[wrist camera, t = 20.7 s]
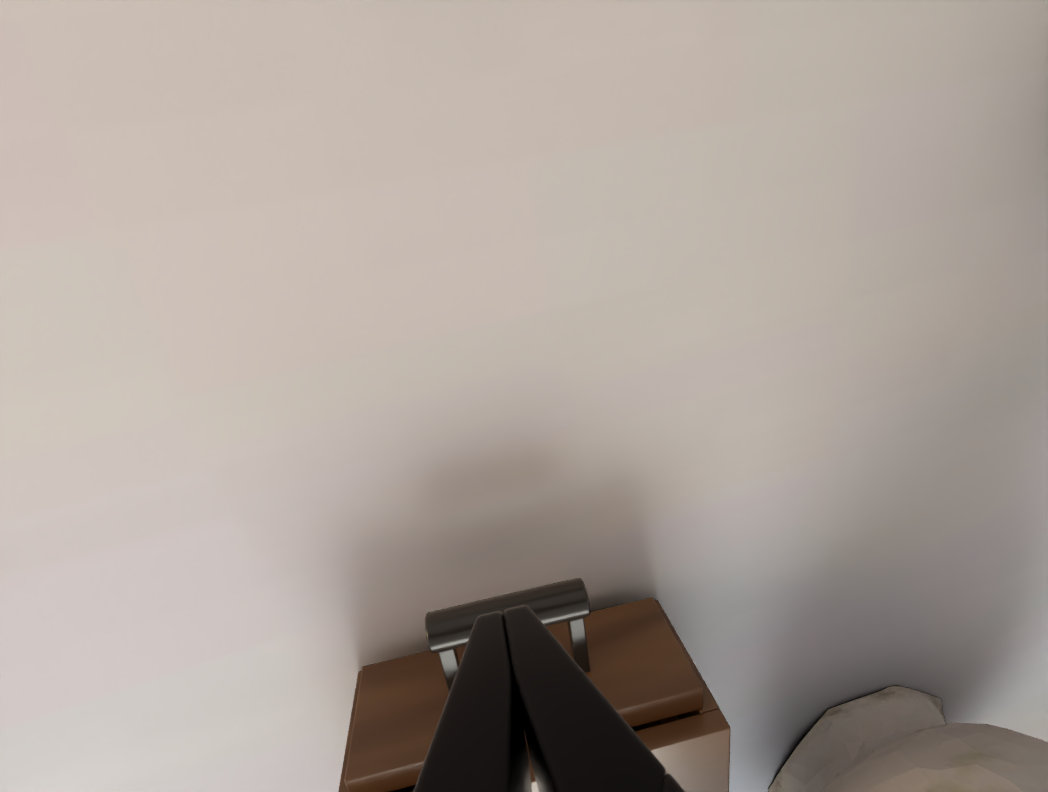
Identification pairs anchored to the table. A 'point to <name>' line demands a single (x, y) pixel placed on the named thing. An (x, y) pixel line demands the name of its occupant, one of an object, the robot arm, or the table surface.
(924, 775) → the ceramic pitcher
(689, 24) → the table surface
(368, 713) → the drawer
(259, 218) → the table surface
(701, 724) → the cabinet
